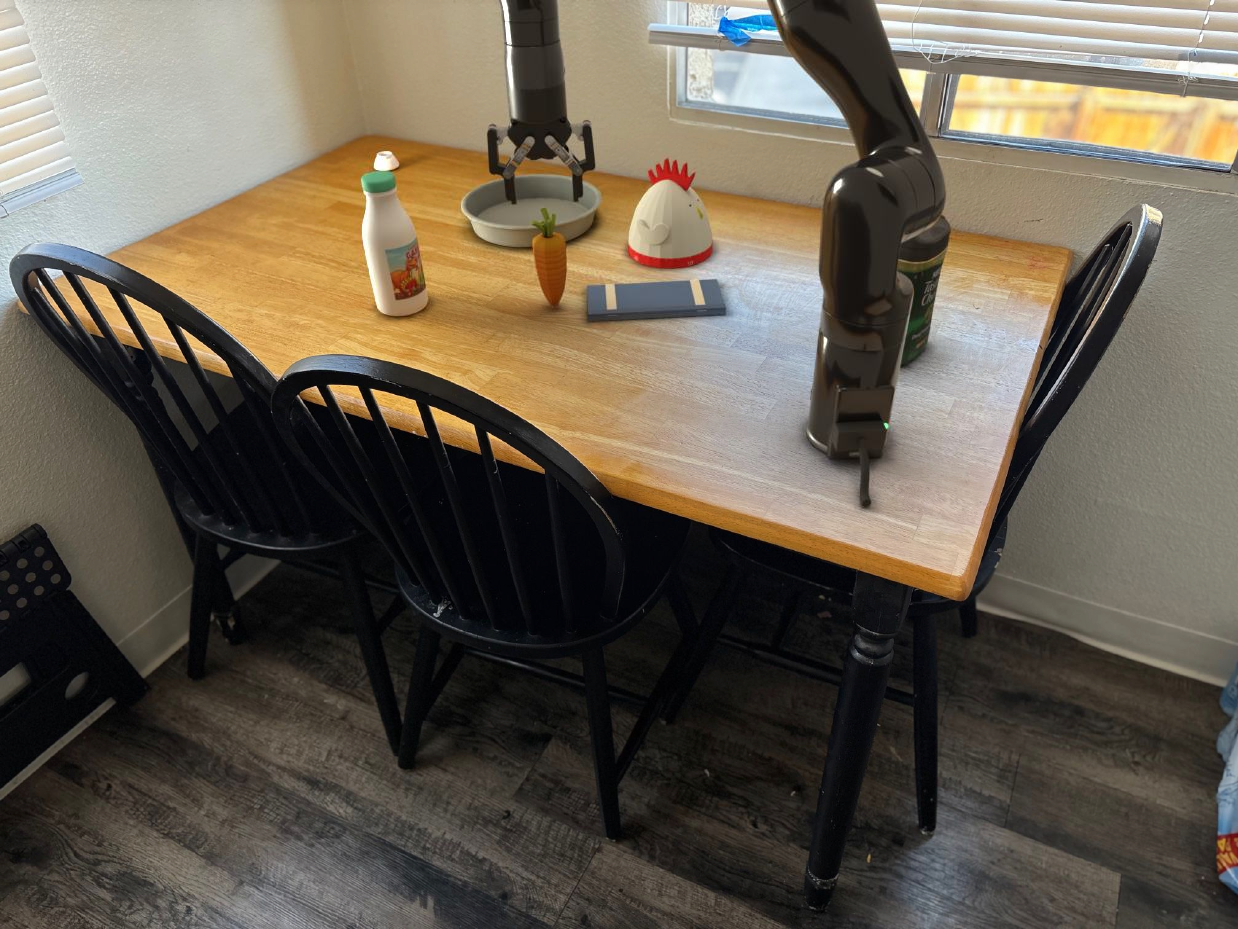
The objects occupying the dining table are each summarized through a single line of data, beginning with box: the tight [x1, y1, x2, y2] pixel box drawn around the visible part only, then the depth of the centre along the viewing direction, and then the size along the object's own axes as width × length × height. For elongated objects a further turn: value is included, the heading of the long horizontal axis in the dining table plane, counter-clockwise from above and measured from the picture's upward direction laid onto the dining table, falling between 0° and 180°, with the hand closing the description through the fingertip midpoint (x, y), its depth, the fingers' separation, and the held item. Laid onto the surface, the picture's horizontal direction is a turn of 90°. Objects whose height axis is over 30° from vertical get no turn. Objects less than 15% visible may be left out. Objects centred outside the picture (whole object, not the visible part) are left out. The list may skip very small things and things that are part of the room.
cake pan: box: [460, 173, 603, 248], centre depth 158 cm, size 25×25×4 cm
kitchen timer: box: [628, 157, 714, 269], centre depth 145 cm, size 14×14×15 cm
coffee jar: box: [897, 214, 952, 365], centre depth 116 cm, size 10×8×19 cm
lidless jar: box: [373, 150, 400, 172], centre depth 184 cm, size 5×3×5 cm
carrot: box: [531, 207, 568, 308], centre depth 130 cm, size 5×5×15 cm
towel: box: [586, 278, 727, 322], centre depth 134 cm, size 10×20×1 cm, turn 93°
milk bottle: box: [360, 170, 429, 317], centre depth 130 cm, size 8×8×20 cm
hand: (545, 201), depth 125 cm, fingers open, 8 cm apart
